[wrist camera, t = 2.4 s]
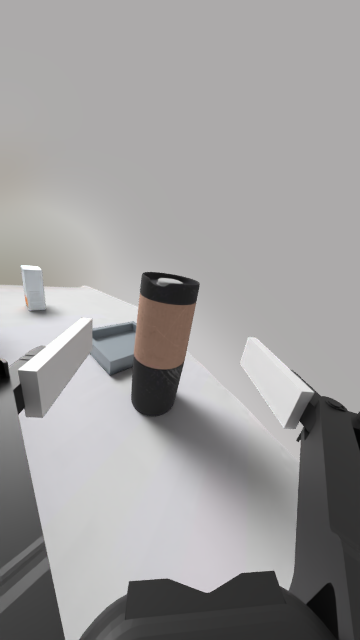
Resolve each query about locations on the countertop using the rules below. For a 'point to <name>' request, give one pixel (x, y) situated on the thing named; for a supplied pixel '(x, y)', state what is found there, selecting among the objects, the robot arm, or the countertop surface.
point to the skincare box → (33, 287)
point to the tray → (114, 346)
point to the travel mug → (161, 340)
